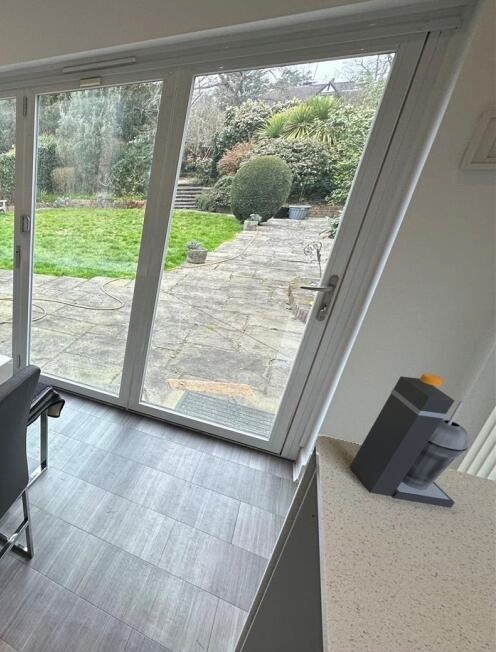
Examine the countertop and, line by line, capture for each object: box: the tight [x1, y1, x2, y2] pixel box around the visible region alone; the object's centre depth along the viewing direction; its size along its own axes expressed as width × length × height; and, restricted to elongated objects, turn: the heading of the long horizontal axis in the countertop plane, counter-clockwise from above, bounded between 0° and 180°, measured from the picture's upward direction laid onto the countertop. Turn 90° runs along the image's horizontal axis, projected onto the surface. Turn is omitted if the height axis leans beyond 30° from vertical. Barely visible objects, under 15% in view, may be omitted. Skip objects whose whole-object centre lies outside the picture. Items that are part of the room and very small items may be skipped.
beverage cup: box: [402, 400, 470, 490], centre depth 82 cm, size 7×7×20 cm
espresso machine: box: [349, 376, 455, 508], centre depth 83 cm, size 14×9×24 cm, turn 77°
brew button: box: [419, 372, 444, 387], centre depth 77 cm, size 3×3×1 cm
